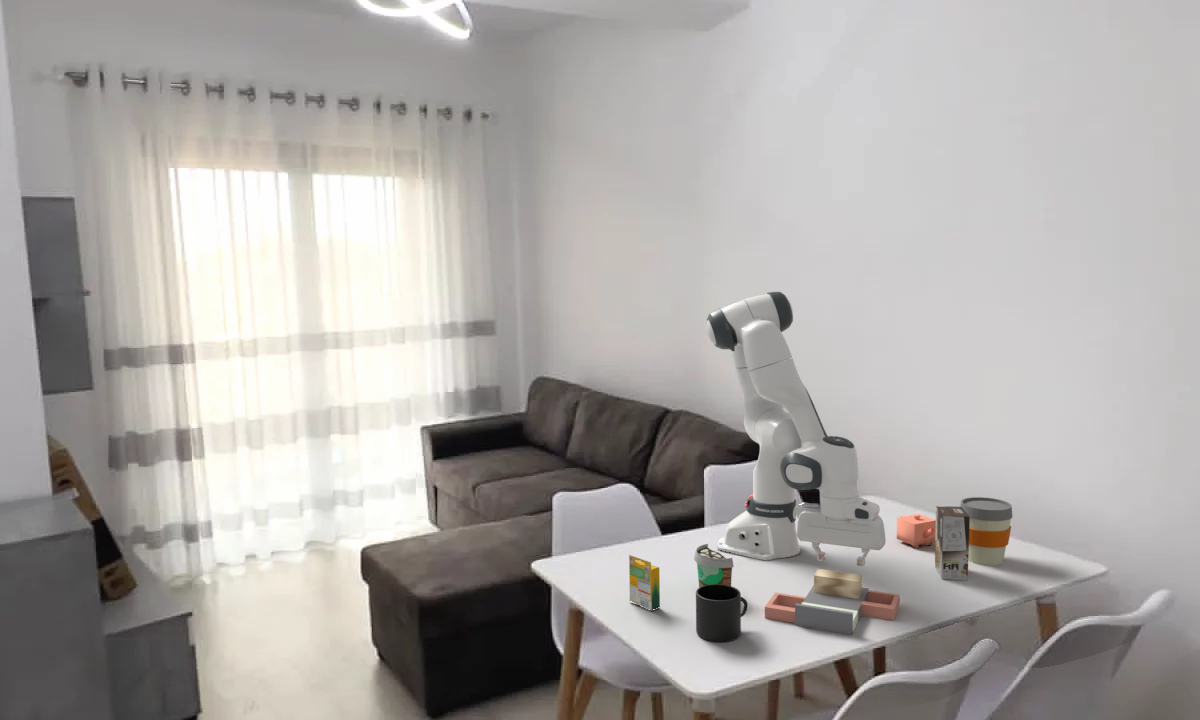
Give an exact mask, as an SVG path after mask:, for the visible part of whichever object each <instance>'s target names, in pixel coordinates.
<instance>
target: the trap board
mask: <svg viewBox="0 0 1200 720" xmlns="http://www.w3.org/2000/svg"><path fill="white" fill-rule="evenodd" d="M900 597H901V595H900V594H898V593H890V592H883V591H877V590H871V589H869V587H868V588H867V587H863V586H862V593H861V595H860V597H859V599H856V598H849V597H843V596H836V595H830V594H823V593H817V592H814V584H813V586H812V587H811V588H810V589H809V592H808V593H807V595H806V596H799V595H793V594H787V593H781V592H777V591H775V592H774V594H773V595H772V597H770V599H769V601H768V602H767V604H766V605H765V606H764V619H770V620H776V621H782V622H789V623H794V625H795V626H800V627H806V628H811V629H818V630H822V631H827V632H828V631H829V632H835V633H839V634H845V635H850V636H851V635H852V636H853V633H854V631H855V629H856V627H857V625H858V622H859V621H860V618H861V616H864V617H865V616H866V617H870V618H878V619H884V620H890V621H895V619H896V616H897V614H898V610H899V608H900V602H901V601H900Z"/></svg>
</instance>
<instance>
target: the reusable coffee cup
mask: <svg viewBox="0 0 1200 720" xmlns="http://www.w3.org/2000/svg"><path fill="white" fill-rule="evenodd" d="M959 505H960V506H959V507H962V508H963V509H964V510H965V512H966V513H967V514H968V515H969V516H970V528H969V555H968V562H970V563H972V562H973V564H975V563H976V565H980V564H981V566H988V565H990V566H991V565H994V566H999V565H1002V564H1003V563H1004V560H1005V559H1004V558H1005V553H1006V548H1007V547H1008V545H1009V541H1010V536H1011V532H1012V531H1011V530H1012V526H1011V519H1012V518H1013V505H1012V504H1011V503H1010V502H1008V501H1005V500H1002V499H997V498H994V497H993V498H992V497H982V496H981V497H980V496H975V497H974V496H973V497H966V498H962V499H961V500H960V504H959Z"/></svg>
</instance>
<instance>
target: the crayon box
mask: <svg viewBox="0 0 1200 720" xmlns="http://www.w3.org/2000/svg"><path fill="white" fill-rule="evenodd" d="M628 558H629V560H628V562H629V563H628V564H629V573H628V574H629V602H630V601H632V602H634V603H636V604H638V605H641V606H643V607H645V608H647V609H650V610H653V609H656V608H658V607H660V608H661V601H660V599H661V593H660V588H661V587H660V582H661V581H660V567H659V566H656V565H653V564H652V562H651V561H648V560H645V559H642V558H640V557H637V556H634V555H630V554H629V556H628ZM647 609H646V610H647ZM656 610H657V609H656Z"/></svg>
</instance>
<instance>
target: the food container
mask: <svg viewBox="0 0 1200 720" xmlns="http://www.w3.org/2000/svg"><path fill="white" fill-rule="evenodd" d="M693 560H694V562H695V563H696V565H697V566H696V567H697V569H696V570H697V577H698V579H697V580H698V588H700V587H702V586H705V585H710V584H722V585H728V586H732V577H733V575H732V574H733V568H734V560H733V557H729V558H728V557H727V558H726V557H725V556H724V555H723V554H721V553H720V552H718V551H715V550H712V549H711V548H709V543H705V544H702V545H699V546H698V547H697V548H696V550H695V552H694V556H693Z"/></svg>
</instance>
